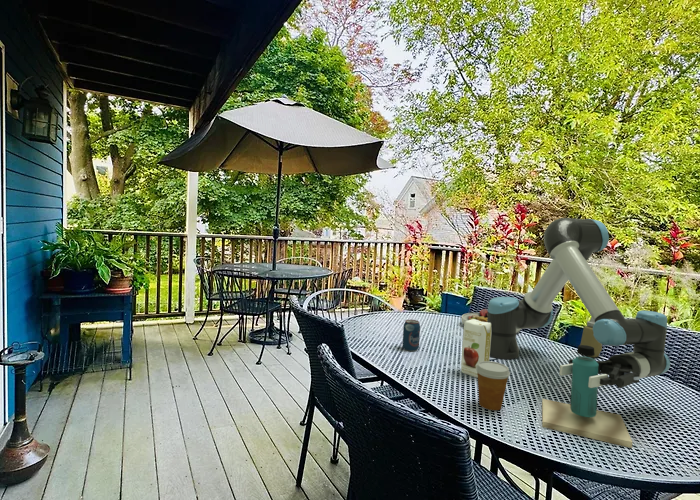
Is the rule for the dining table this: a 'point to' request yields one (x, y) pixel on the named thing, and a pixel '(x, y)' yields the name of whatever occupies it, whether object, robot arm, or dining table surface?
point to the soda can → (411, 335)
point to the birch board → (585, 423)
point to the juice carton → (475, 345)
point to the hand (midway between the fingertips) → (575, 376)
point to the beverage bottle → (584, 383)
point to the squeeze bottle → (591, 338)
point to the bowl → (478, 317)
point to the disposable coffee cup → (492, 384)
